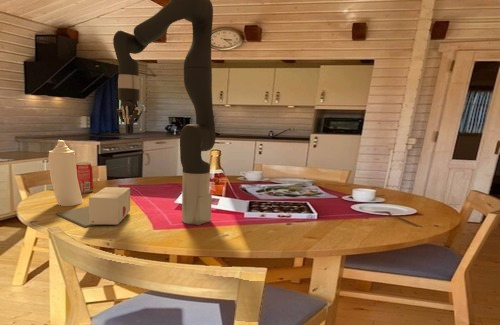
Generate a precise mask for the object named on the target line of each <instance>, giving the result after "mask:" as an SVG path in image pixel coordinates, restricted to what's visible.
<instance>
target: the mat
mask: <svg viewBox="0 0 500 325" xmlns="http://www.w3.org/2000/svg"><path fill="white" fill-rule="evenodd" d="M56 214H57V215H56ZM55 215H56V216H58V215H59V216H58V217H60V216H61V217H60V218H63V219H66V220H67V221H70V222H72V223H74V224H77V225H79V226H81V227H82V228H89V227H93V226H97V225H99V224H90V221H89V205H88V206H84V207H77V208H72V209H68V210H63V211H59V212H58V211H57V212H55ZM126 217H127V215H126V216H125V217H124V218H126ZM124 218H123V219H124Z"/></svg>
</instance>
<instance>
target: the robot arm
mask: <svg viewBox="0 0 500 325" xmlns="http://www.w3.org/2000/svg"><path fill="white" fill-rule="evenodd" d="M180 20H181V21H182V20H186V22H187V21H188V22H190V23H191V25H192V39H191V40H192V41H191V45H190V48H189V50H188V51H187V54H186V55H185V59H184V61H183V83H184V87H185V90H186V93H187V95H188V97H189V99H190V101H191V103H192V105H193V107H194V108H193V109H194V112H195V124H193V123H191V124H190V123H189V124H185V125H184V126H183V128H182V129H181V131H180V134H179V154H180V155H179V156H180V164H181V167H182V188H181V190H182V192H181V193H182V195H181V197H182V198H181V199H182V200H181V222H182V223H184V224H188V225H197V226H200V225H204V224H206V223H208V222H209V223H210V222H212V194H211V193H210V186H211V185H210V184H211V182H210V181H211V165H210V163H209V162H207V161H205V160H203V157H202V152H208V151H210V150H212V149H213V148H214V147H215V143H216V126H215V118H214V109H213V106H214V105H213V88H212V87H213V84H212V83H213V81H212V80H213V74H212V73H213V72H212V70H213V68H212V67H213V66H212V32H213V21H214V6H213V3H212V1H211V0H170V1H169V2H168V3H166V4H165V5H164V6H163V7H162V8H161V9H160V10H159V11H157V12H156V13H155V14H154V15H152V16H151V17H149V18H147V19H145V20H144V21H141V23H139V24H137V25H136V26H134V28H133V32H132V33H131V32H129V31H125V30H122V29H120V30H117V31H116V32H115V33H114V36H113V38H112V39H113V40H112V44H113V48H114V53H115V56H116V60H117V63H118V78H117V84H118V85H117V90H118V91H117V94H118V96H117V99H118V100H119V101H120V106H119V107H120V108H117V109H116V113H117V114H118V117H119V119H120V121H121V123H124V124H125V135H133V134H134V125H135V124H137V123H138V121H139V120H140V117H141V115H142V114H143V110H142V109H140V108H139V104H138V102H140V94H141V93H140V78H139V76H140V75H139V74H140V72H139V71H140V70H139V62H138V60H136V59H134V58H132V56H131V54H133V55H137V54H140V53H142V52H143V51H144V50H145V49H146V48H147V46H149V45H150V44H151V43H154V42H155V41H157V40H159V39H161V38H162V37H163V36H165V34H166V33H167V31H168V30H169V27H170V26H171V25H173V23H175V22H178V21H180Z"/></svg>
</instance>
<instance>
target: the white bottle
mask: <svg viewBox="0 0 500 325" xmlns="http://www.w3.org/2000/svg"><path fill="white" fill-rule="evenodd" d="M65 142H66V141H65V140H62V139H61V140H60V139H58V140H57V143H56V146H55V147H54V148H53V149H52V150H48V152H49V153H48V166H49V174H50V181H51V185H52V188H53V193H54V197H55V200H56V203H57V205H58V206H60V205H61V207H72V206H78V205H81V204H83V203H84V200H83V196H82V193H81V192H80V188H79V183H78V179H77V169H76V163H77V160H76V153H75V152H76V151H75V150H73V149H70V148H69V146H68V145H67V144H66V143H65Z"/></svg>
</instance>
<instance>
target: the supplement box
mask: <svg viewBox="0 0 500 325" xmlns="http://www.w3.org/2000/svg"><path fill="white" fill-rule="evenodd" d="M88 206H89V221H90V224H98V225H119V224H120V223H121V222H122V221H123V219H124V217H125V216H126V217H127V215H128V213H129V214H130V211H131V187H113V186H111V187H109V186H107V187H106V186H105V187H103V188H102V189H101V190H99V191H97V192H96V193H94V194H92V195H91V196H89V197H88Z"/></svg>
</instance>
